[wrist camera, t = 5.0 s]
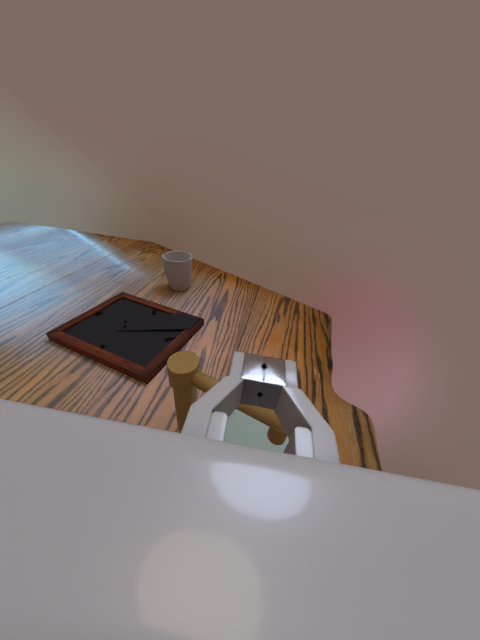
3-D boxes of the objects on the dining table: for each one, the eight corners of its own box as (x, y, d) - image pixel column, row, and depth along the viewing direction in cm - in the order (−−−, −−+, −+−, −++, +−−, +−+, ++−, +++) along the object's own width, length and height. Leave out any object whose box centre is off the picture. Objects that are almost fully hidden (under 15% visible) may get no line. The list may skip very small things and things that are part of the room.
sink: (285, 389, 42) (290, 373, 40) (320, 470, 32) (331, 455, 29) (212, 399, 39) (213, 382, 37) (225, 491, 29) (227, 477, 26)
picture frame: (203, 324, 56) (123, 297, 63) (203, 318, 55) (122, 291, 61) (147, 384, 41) (49, 339, 47) (145, 376, 40) (45, 332, 46)
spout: (163, 390, 25) (159, 365, 23) (182, 370, 27) (180, 346, 25) (279, 456, 20) (289, 433, 18) (290, 426, 23) (300, 403, 20)
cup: (196, 283, 73) (195, 253, 67) (188, 295, 66) (186, 263, 60) (172, 279, 73) (169, 249, 67) (161, 291, 67) (157, 258, 61)
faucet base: (212, 440, 34) (215, 379, 26) (188, 468, 31) (182, 408, 22) (190, 420, 36) (186, 358, 28) (165, 444, 33) (152, 382, 25)
